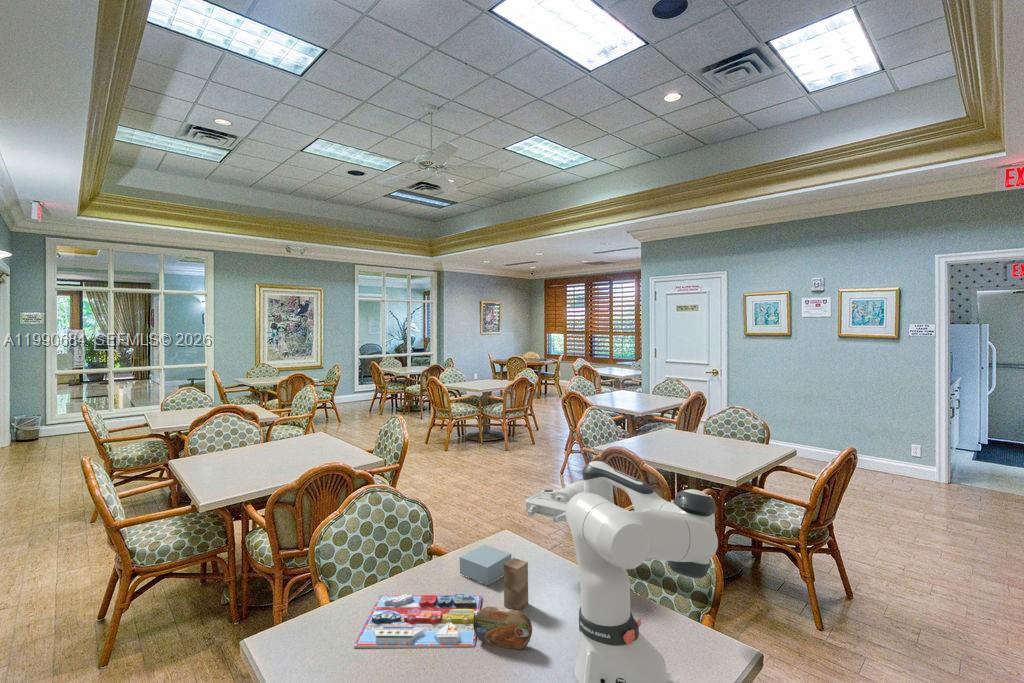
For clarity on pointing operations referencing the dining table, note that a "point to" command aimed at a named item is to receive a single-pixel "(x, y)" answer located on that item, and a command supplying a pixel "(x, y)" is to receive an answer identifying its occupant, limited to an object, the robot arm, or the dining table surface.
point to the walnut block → (516, 584)
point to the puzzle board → (421, 622)
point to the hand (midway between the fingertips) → (542, 516)
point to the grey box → (484, 564)
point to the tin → (503, 627)
